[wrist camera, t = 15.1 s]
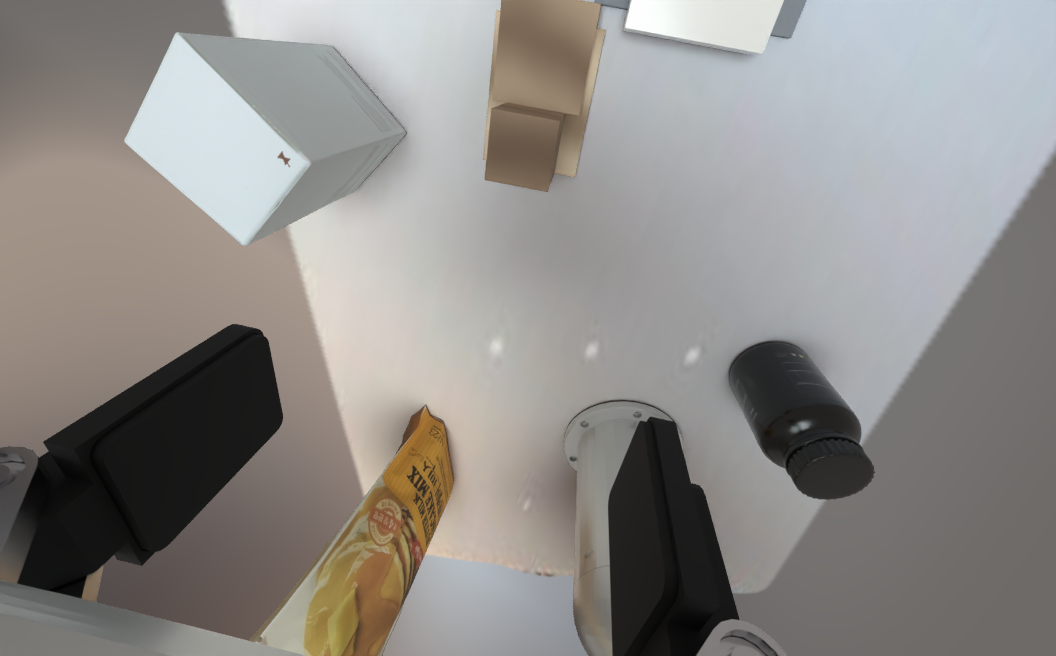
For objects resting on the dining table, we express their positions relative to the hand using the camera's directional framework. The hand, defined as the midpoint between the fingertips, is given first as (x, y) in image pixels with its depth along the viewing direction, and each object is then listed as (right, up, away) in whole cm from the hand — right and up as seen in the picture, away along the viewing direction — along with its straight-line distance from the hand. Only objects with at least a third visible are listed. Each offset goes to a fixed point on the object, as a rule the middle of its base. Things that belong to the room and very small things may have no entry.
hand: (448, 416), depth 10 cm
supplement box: (-12, +18, +21) cm, 30 cm away
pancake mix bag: (-10, -13, +40) cm, 43 cm away
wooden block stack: (+3, +18, +18) cm, 26 cm away
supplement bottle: (+24, -2, +27) cm, 37 cm away
